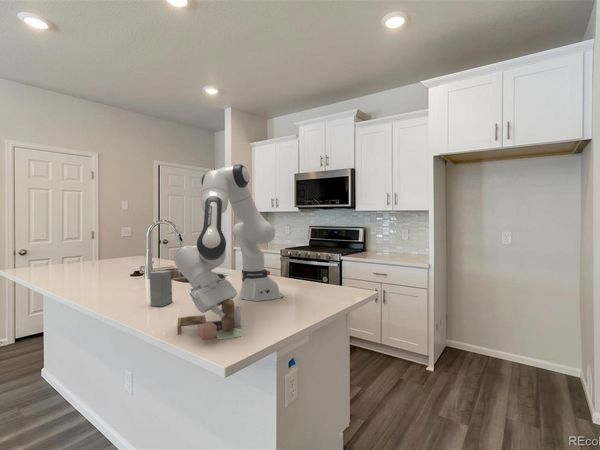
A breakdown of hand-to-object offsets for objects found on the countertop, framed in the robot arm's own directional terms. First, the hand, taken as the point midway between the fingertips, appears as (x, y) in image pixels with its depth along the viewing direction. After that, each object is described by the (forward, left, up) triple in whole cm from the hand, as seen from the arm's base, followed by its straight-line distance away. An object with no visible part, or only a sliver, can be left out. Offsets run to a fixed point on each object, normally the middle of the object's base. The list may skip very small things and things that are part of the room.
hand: (229, 313), depth 117 cm
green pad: (0, 0, -8) cm, 8 cm away
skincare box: (+25, -49, -8) cm, 56 cm away
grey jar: (-3, -8, -8) cm, 12 cm away
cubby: (+12, -11, -8) cm, 19 cm away
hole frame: (+3, -8, -8) cm, 12 cm away
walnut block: (0, 0, -6) cm, 6 cm away
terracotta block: (+8, -1, -8) cm, 11 cm away
